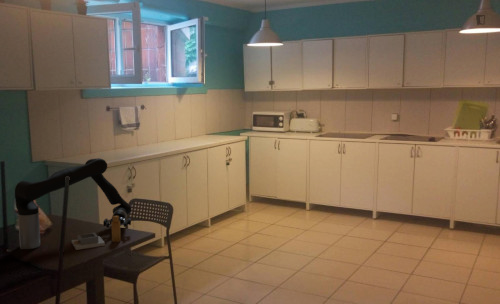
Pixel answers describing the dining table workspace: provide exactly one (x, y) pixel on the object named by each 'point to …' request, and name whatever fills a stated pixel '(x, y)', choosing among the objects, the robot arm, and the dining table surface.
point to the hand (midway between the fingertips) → (116, 225)
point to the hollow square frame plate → (88, 241)
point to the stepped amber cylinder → (116, 229)
